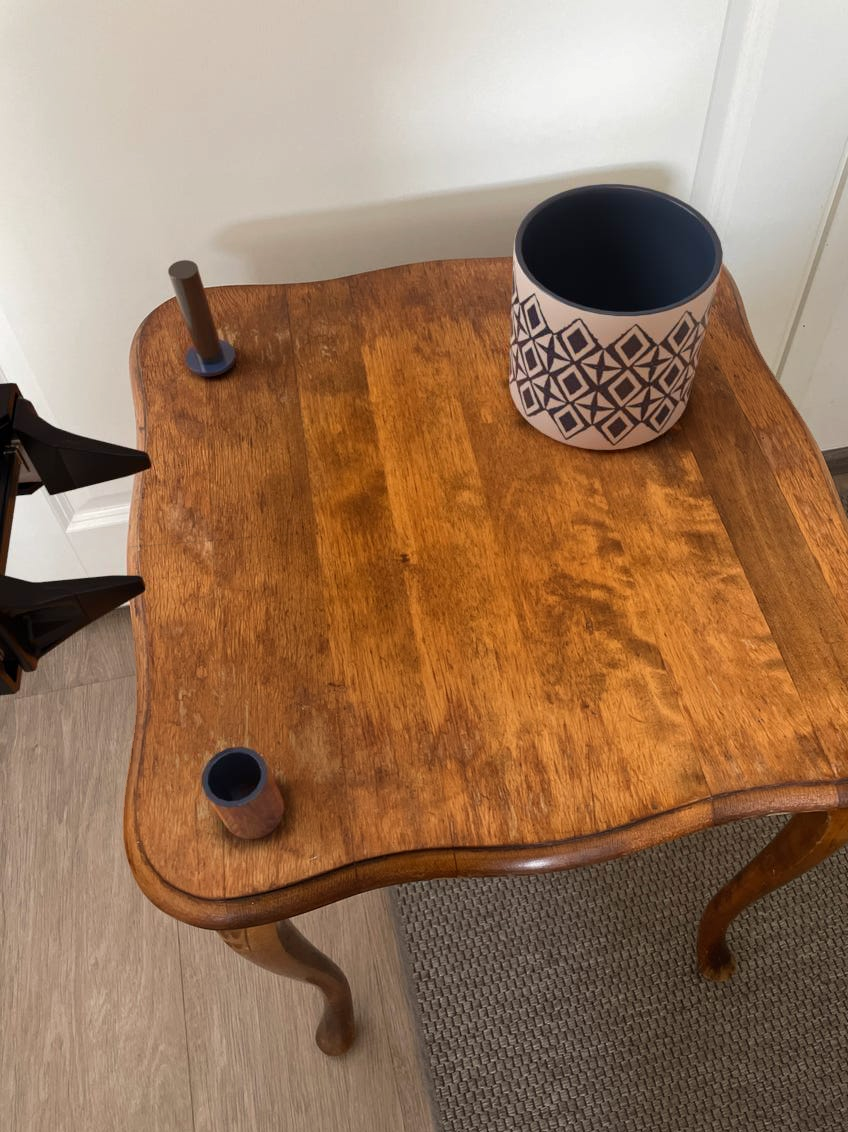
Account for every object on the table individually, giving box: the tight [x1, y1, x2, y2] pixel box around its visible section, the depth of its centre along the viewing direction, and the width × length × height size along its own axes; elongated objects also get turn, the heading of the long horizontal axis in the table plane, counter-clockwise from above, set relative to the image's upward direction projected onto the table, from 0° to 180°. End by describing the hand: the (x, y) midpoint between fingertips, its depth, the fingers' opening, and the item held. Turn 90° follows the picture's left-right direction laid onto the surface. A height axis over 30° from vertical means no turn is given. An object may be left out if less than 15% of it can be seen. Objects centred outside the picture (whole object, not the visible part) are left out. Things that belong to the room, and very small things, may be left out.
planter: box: [508, 183, 724, 451], centre depth 77 cm, size 16×16×14 cm
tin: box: [201, 746, 285, 840], centre depth 60 cm, size 4×4×6 cm
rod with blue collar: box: [167, 259, 237, 377], centre depth 80 cm, size 4×4×10 cm
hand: (146, 519), depth 54 cm, fingers open, 9 cm apart
